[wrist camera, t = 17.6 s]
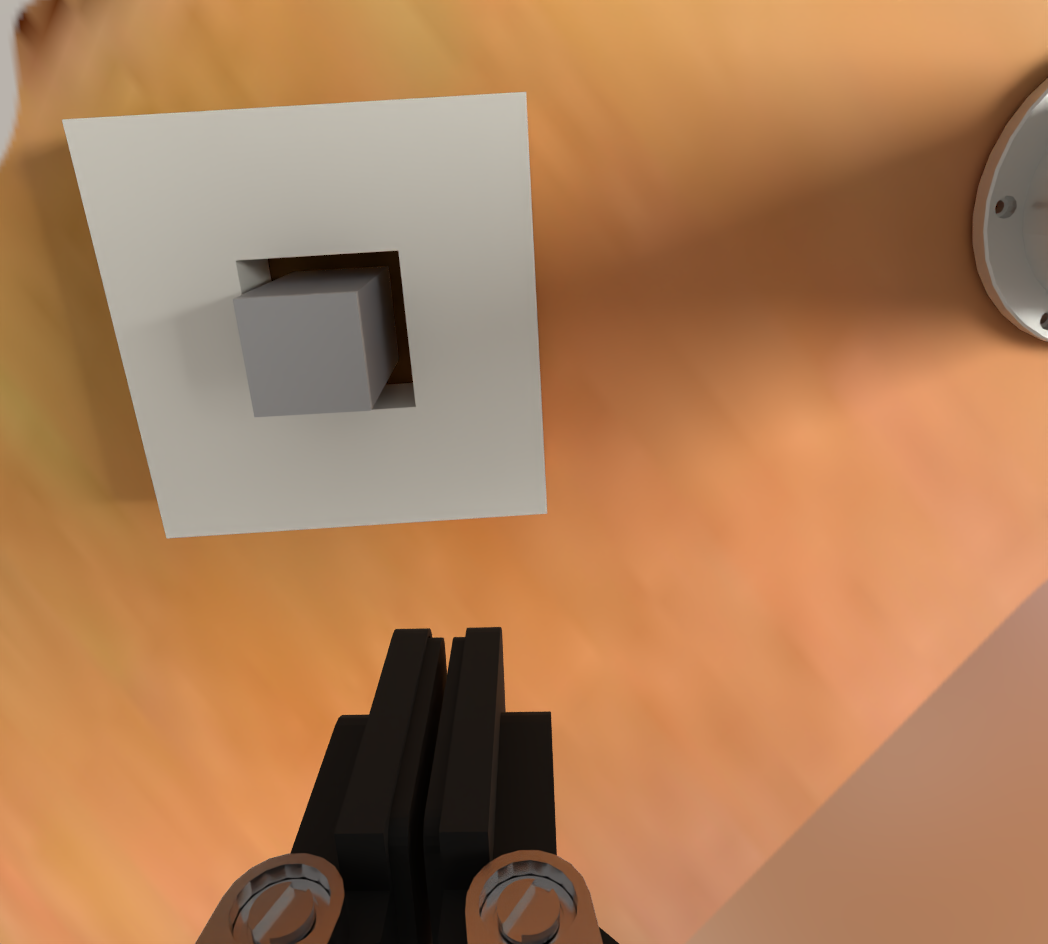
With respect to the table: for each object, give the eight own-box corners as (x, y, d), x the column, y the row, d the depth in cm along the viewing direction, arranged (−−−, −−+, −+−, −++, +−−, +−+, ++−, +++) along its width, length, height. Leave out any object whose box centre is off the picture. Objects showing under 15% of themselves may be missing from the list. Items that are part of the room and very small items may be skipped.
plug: (388, 266, 32) (356, 292, 25) (399, 359, 34) (371, 410, 26) (293, 271, 32) (232, 299, 25) (308, 364, 34) (254, 417, 26)
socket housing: (522, 102, 30) (526, 91, 26) (542, 478, 36) (547, 513, 32) (116, 127, 30) (61, 119, 26) (201, 501, 36) (166, 538, 32)
